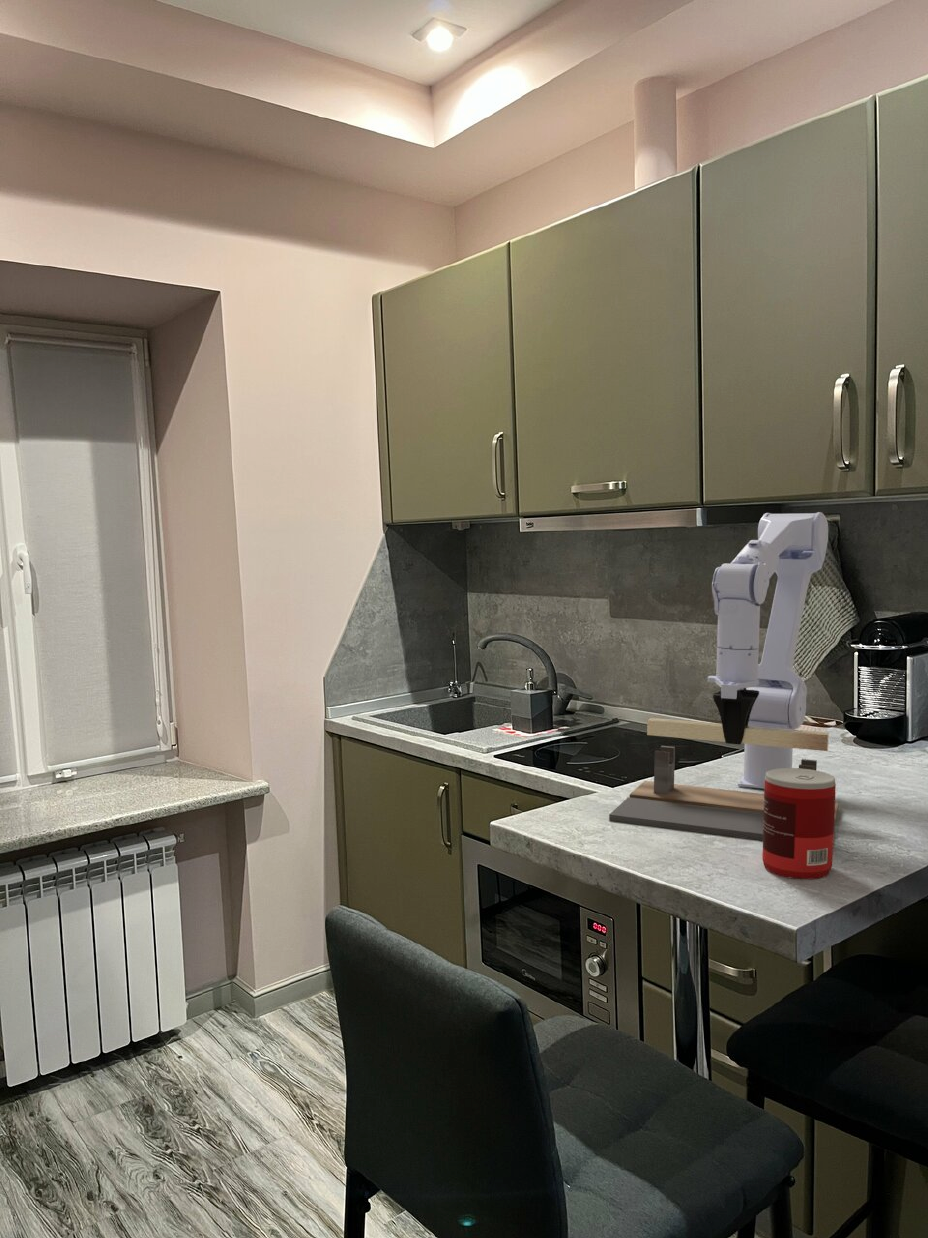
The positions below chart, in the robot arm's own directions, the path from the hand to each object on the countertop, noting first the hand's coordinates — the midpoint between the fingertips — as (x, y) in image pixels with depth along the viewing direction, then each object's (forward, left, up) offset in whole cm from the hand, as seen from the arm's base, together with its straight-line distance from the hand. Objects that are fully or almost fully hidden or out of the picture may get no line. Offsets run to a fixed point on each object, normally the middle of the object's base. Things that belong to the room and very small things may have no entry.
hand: (734, 741), depth 137 cm
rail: (0, 0, 0) cm, 0 cm away
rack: (0, 0, -9) cm, 9 cm away
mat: (+11, 0, -9) cm, 14 cm away
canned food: (+25, +11, -10) cm, 29 cm away
